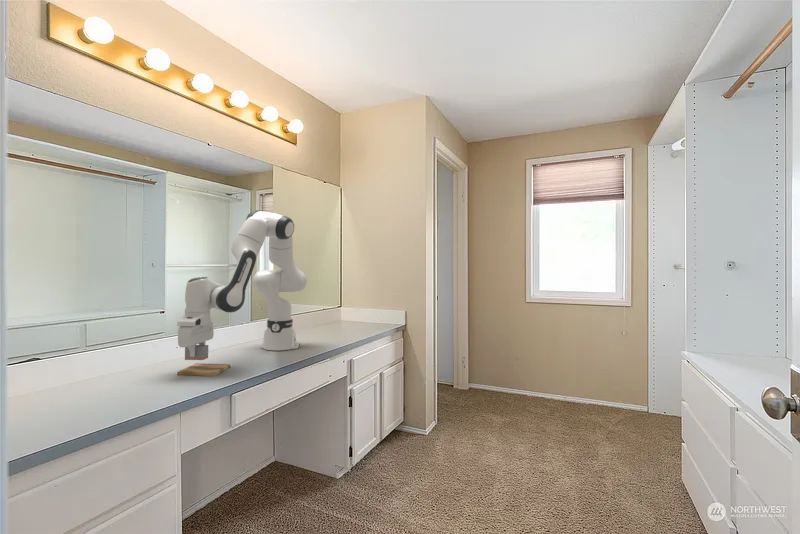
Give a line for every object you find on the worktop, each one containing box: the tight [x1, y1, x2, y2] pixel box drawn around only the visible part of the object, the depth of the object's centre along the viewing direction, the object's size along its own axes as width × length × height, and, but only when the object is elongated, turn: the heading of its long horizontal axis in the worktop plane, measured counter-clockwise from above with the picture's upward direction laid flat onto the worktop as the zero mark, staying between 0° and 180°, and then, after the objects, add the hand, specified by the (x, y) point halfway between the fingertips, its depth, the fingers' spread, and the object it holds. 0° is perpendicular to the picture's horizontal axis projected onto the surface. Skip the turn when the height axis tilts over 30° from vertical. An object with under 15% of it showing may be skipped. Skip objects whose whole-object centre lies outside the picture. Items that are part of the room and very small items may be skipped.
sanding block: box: [184, 344, 209, 361], centre depth 157 cm, size 4×7×5 cm, turn 89°
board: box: [176, 362, 231, 377], centre depth 157 cm, size 13×14×1 cm
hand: (196, 354), depth 157 cm, fingers closed on sanding block, 4 cm apart
